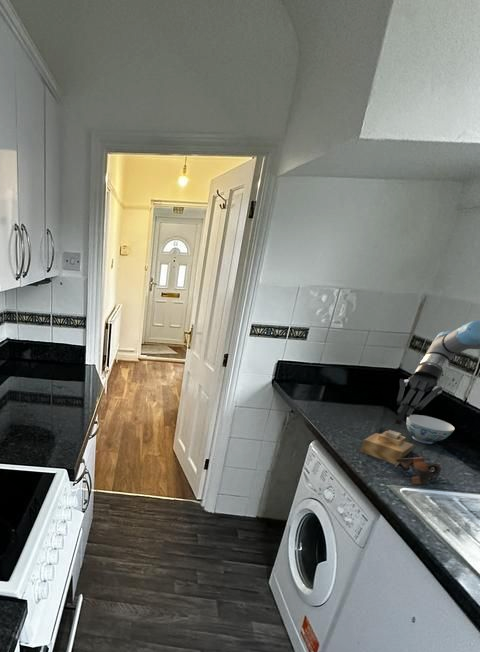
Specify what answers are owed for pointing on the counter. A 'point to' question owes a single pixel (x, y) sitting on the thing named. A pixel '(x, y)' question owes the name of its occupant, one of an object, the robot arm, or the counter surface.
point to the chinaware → (428, 428)
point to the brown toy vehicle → (418, 468)
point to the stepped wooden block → (386, 447)
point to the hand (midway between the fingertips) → (398, 422)
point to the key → (393, 434)
